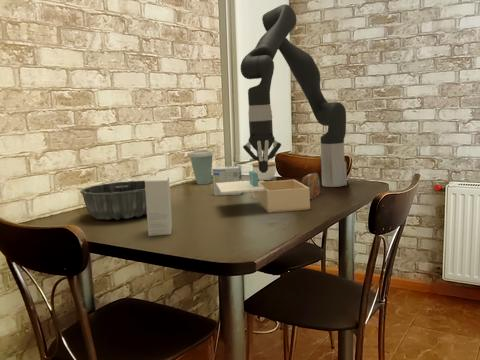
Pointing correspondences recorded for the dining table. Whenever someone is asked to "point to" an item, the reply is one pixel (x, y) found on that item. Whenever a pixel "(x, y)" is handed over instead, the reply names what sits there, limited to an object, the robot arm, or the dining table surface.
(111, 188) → the bundt pan
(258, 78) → the robot arm
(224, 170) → the light bulb box
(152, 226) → the skincare box
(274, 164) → the lidded jar
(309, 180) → the brown flat slab
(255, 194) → the birch block
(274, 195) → the box
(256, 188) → the lid
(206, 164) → the disposable coffee cup
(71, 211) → the dining table surface
